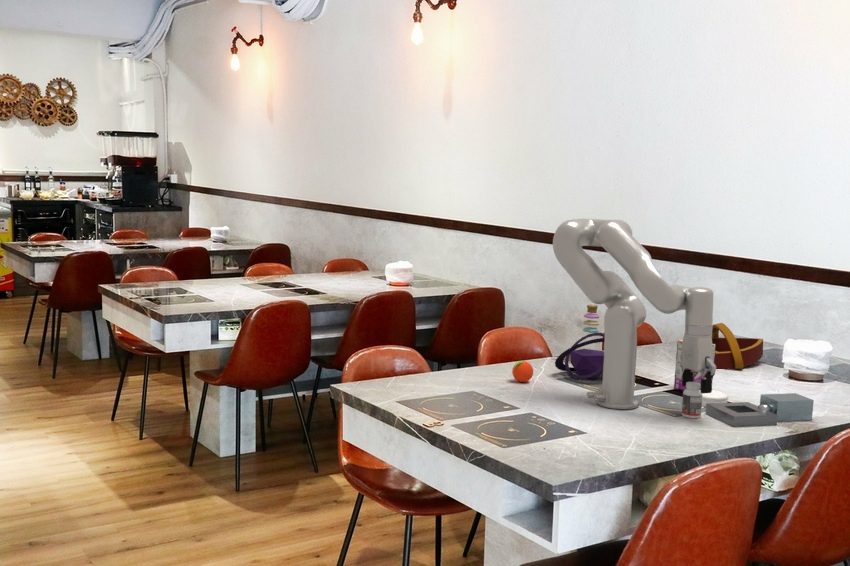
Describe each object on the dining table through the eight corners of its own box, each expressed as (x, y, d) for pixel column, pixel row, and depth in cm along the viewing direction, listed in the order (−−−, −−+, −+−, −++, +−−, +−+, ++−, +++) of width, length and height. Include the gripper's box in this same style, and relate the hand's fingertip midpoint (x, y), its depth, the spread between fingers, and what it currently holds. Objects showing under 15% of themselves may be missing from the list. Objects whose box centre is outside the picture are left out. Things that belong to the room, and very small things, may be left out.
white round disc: (686, 401, 276) (687, 390, 275) (712, 399, 280) (712, 388, 279) (708, 409, 267) (709, 398, 266) (734, 407, 271) (735, 396, 270)
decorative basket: (680, 356, 358) (677, 319, 356) (755, 350, 353) (752, 313, 352) (693, 376, 325) (689, 336, 323) (776, 369, 320) (773, 328, 318)
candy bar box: (673, 389, 290) (676, 340, 288) (680, 387, 294) (683, 338, 292) (705, 396, 283) (709, 345, 281) (712, 393, 286) (716, 343, 284)
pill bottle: (678, 413, 260) (680, 380, 259) (696, 413, 261) (698, 381, 260) (685, 418, 255) (688, 385, 254) (703, 418, 256) (706, 385, 254)
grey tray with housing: (733, 426, 248) (735, 406, 247) (705, 413, 262) (707, 393, 261) (818, 423, 255) (820, 402, 255) (787, 410, 269) (789, 390, 268)
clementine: (520, 385, 288) (521, 364, 287) (505, 381, 293) (506, 360, 292) (537, 382, 293) (538, 361, 292) (521, 378, 298) (522, 357, 297)
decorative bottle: (601, 369, 317) (606, 299, 314) (633, 383, 297) (638, 309, 294) (545, 371, 310) (548, 300, 307) (573, 386, 290) (577, 310, 287)
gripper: (671, 326, 262) (669, 383, 264) (703, 336, 246) (701, 396, 247) (693, 325, 264) (691, 382, 266) (727, 334, 247) (725, 395, 249)
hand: (696, 389), depth 257 cm, fingers open, 9 cm apart
